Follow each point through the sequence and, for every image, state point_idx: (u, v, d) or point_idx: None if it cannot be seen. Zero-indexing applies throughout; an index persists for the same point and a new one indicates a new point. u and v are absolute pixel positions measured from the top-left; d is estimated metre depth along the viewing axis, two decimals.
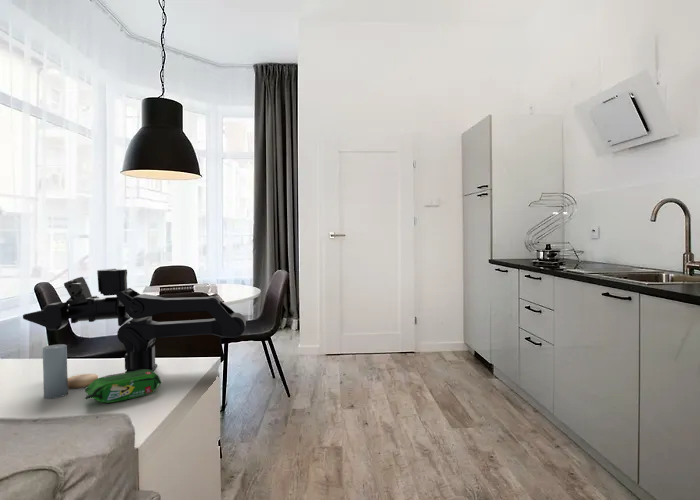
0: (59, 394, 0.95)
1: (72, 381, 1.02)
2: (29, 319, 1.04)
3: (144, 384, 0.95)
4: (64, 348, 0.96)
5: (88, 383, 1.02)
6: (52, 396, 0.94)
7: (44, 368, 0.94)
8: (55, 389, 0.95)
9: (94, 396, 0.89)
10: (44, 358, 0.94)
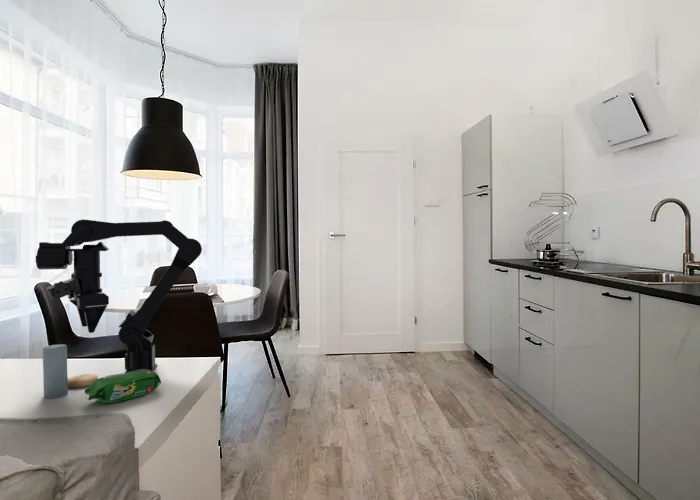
0: (59, 394, 0.95)
1: (72, 381, 1.02)
2: (94, 326, 1.06)
3: (145, 383, 0.95)
4: (64, 348, 0.96)
5: (88, 383, 1.02)
6: (52, 396, 0.94)
7: (44, 368, 0.94)
8: (55, 389, 0.95)
9: (97, 397, 0.89)
10: (44, 358, 0.94)
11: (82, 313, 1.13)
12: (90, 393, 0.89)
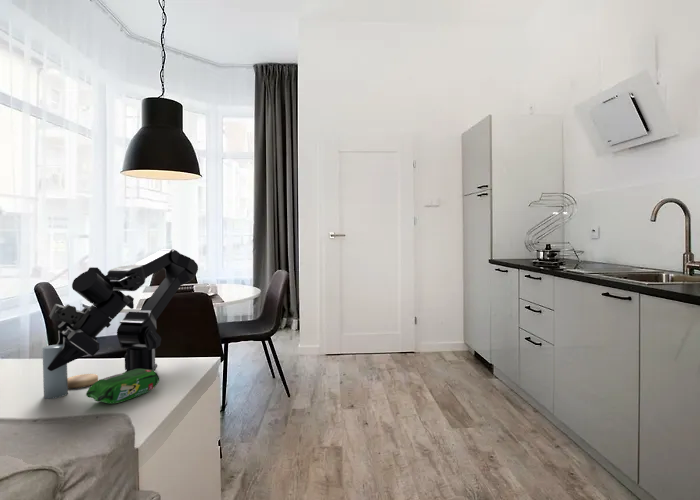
0: (59, 394, 0.95)
1: (72, 381, 1.02)
2: (58, 365, 0.94)
3: (148, 381, 0.97)
4: None
5: (88, 383, 1.02)
6: (52, 396, 0.94)
7: (44, 368, 0.94)
8: (55, 389, 0.95)
9: (106, 397, 0.88)
10: (44, 358, 0.94)
11: None
12: (96, 395, 0.88)
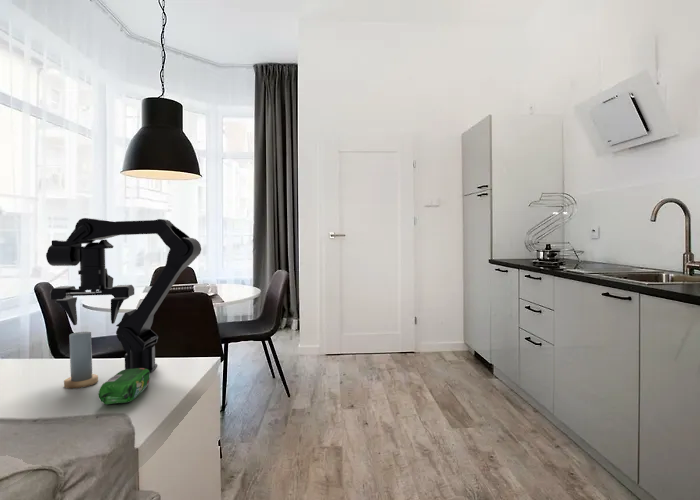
0: (83, 378, 1.02)
1: (72, 381, 1.02)
2: None
3: (147, 378, 0.99)
4: (88, 335, 1.03)
5: (88, 383, 1.02)
6: (77, 379, 1.02)
7: (70, 353, 1.02)
8: (80, 373, 1.02)
9: (129, 395, 0.89)
10: (70, 344, 1.02)
11: None
12: (117, 395, 0.88)
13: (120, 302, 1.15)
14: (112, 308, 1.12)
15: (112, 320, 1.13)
